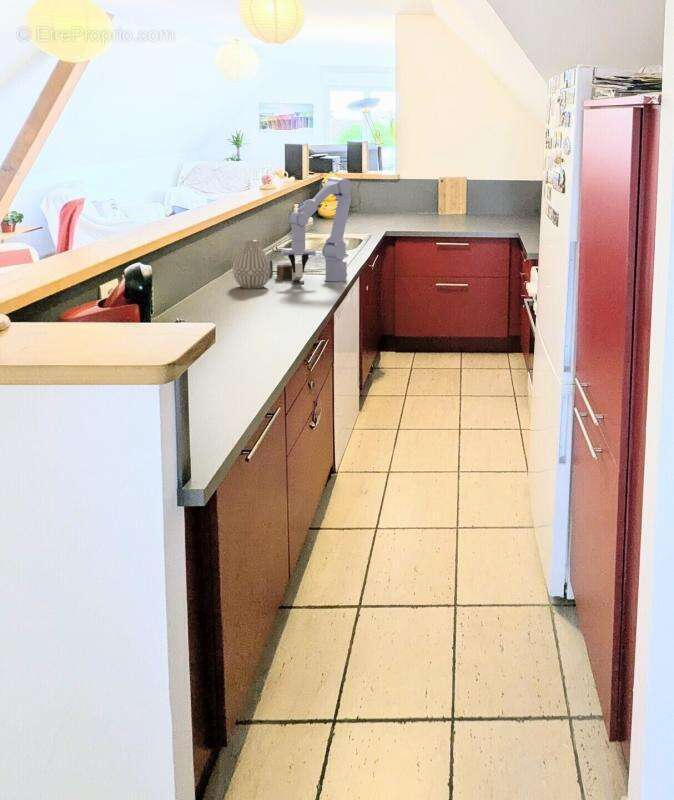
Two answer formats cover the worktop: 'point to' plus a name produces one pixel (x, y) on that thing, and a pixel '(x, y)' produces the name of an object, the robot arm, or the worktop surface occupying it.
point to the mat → (298, 282)
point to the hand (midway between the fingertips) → (298, 272)
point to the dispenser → (284, 269)
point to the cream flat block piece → (297, 272)
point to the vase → (251, 266)
